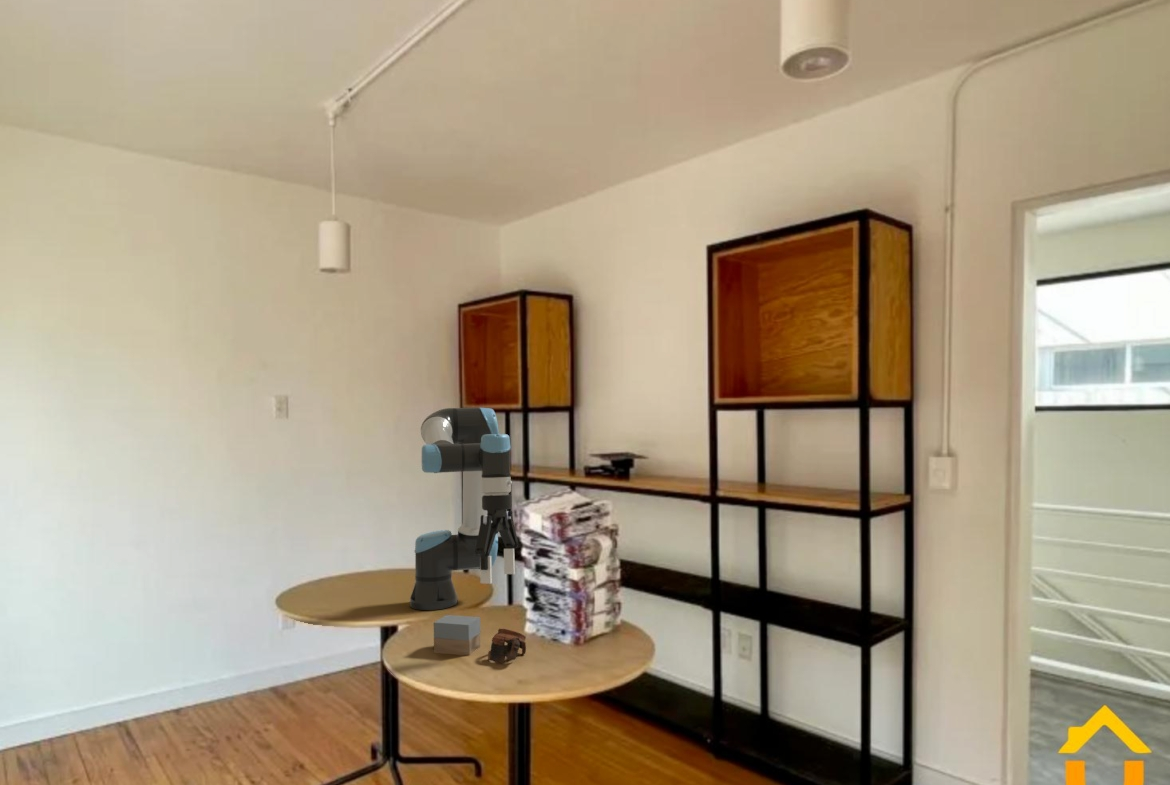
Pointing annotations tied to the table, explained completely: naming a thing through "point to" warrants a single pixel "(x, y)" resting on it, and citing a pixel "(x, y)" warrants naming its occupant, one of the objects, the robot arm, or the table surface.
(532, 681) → the table surface
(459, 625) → the blue-grey block
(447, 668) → the table surface
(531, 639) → the table surface
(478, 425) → the robot arm
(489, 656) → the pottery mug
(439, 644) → the walnut block
